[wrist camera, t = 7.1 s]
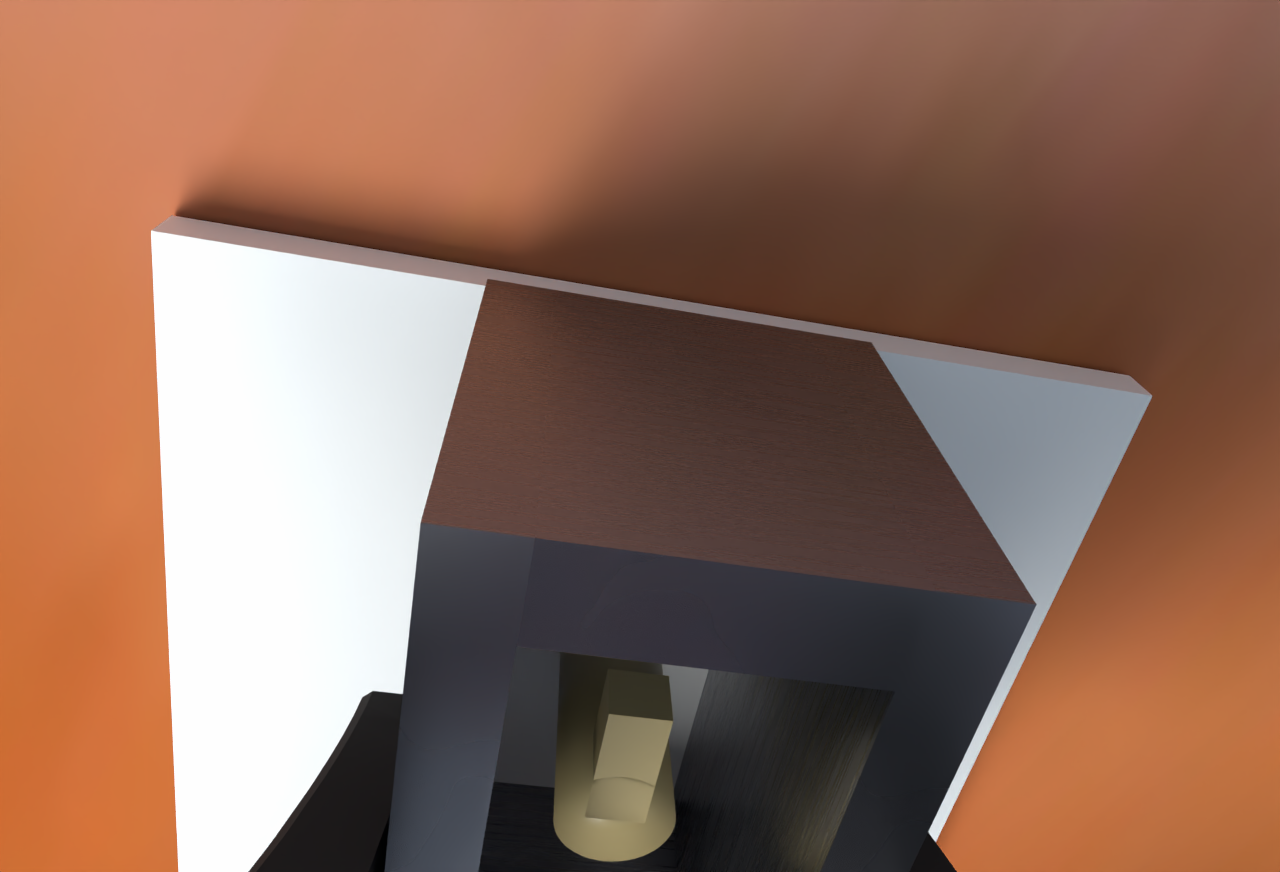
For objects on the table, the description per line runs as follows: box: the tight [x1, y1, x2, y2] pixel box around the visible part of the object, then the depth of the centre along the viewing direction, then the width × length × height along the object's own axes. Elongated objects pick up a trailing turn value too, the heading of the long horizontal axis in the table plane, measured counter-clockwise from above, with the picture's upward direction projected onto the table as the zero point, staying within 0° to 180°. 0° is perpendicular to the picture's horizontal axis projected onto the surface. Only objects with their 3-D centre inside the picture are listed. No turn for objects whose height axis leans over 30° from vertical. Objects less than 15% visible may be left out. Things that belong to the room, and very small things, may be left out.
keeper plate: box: [151, 215, 1152, 872], centre depth 13 cm, size 12×12×4 cm
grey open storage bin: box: [384, 279, 1037, 872], centre depth 11 cm, size 9×5×5 cm, turn 169°
